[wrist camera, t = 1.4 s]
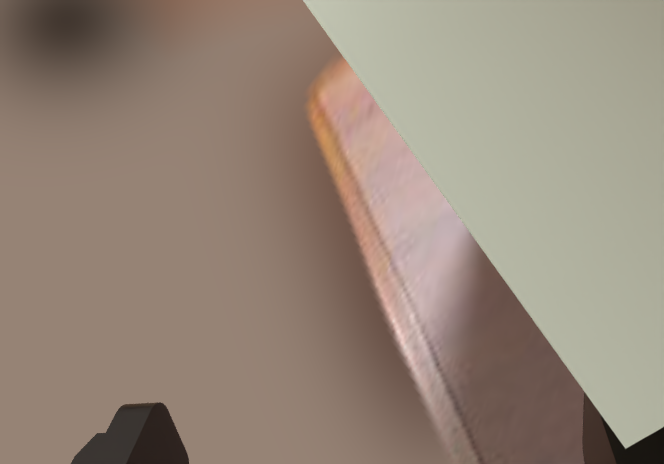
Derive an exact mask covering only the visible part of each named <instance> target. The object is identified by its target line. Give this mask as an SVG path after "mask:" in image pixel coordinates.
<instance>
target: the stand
mask: <svg viewBox="0 0 664 464" xmlns="http://www.w3.org/2000/svg"><path fill="white" fill-rule="evenodd" d="M303 1H304V3H305V4H306V5H307V7H308V8H309V9H310V11H311V12H312V14H313V15H314V16H315V18H316V19H317V21H318V22H319V23H320V25H321V26H322V27H323V29H324V30H325V32H326V33H327V34H328V36H329V37H330V39H331V40H332V41H333V43H334V44H335V46H336V47H337V48H338V50H339V51H340V53H341V54H342V55H343V57H344V58H345V59H346V61H347V62H348V64H349V65H350V66H351V68H352V69H353V71H354V72H355V73H356V75H357V76H358V78H359V79H360V80H361V82H362V83H363V85H364V86H365V87H366V89H367V90H368V91H369V93H370V94H371V96H372V97H373V98H374V100H375V101H376V103H377V104H378V105H379V107H380V108H381V110H382V111H383V112H384V114H385V115H386V116H387V118H388V119H389V121H390V122H391V123H392V125H393V126H394V128H395V129H396V130H397V132H398V133H399V135H400V136H401V137H402V139H403V140H404V142H405V143H406V144H407V146H408V147H409V148H410V150H411V151H412V153H413V154H414V155H415V157H416V158H417V160H418V161H419V162H420V164H421V165H422V167H423V168H424V169H425V171H426V172H427V173H428V175H429V176H430V178H431V179H432V180H433V182H434V183H435V185H436V186H437V187H438V189H439V190H440V192H441V193H442V194H443V196H444V197H445V198H446V200H447V201H448V203H449V204H450V205H451V207H452V208H453V210H454V211H455V212H456V214H457V215H458V217H459V218H460V219H461V221H462V222H463V224H464V225H465V226H466V228H467V229H468V230H469V232H470V233H471V235H472V236H473V237H474V239H475V240H476V242H477V243H478V244H479V246H480V247H481V249H482V250H483V251H484V253H485V254H486V255H487V257H488V258H489V260H490V261H491V262H492V264H493V265H494V267H495V268H496V269H497V271H498V272H499V274H500V275H501V276H502V278H503V279H504V281H505V282H506V283H507V285H508V286H509V287H510V289H511V290H512V292H513V293H514V294H515V296H516V297H517V299H518V300H519V301H520V303H521V304H522V306H523V307H524V308H525V310H526V311H527V312H528V314H529V315H530V317H531V318H532V319H533V321H534V322H535V324H536V325H537V326H538V328H539V329H540V331H541V332H542V333H543V335H544V336H545V337H546V339H547V340H548V342H549V343H550V344H551V346H552V347H553V349H554V350H555V351H556V353H557V354H558V356H559V357H560V358H561V360H562V361H563V363H564V364H565V365H566V367H567V368H568V369H569V371H570V372H571V374H572V375H573V376H574V378H575V379H576V381H577V382H578V383H579V385H580V386H581V388H582V389H583V390H584V392H585V393H586V394H587V396H588V397H589V399H590V400H591V401H592V403H593V404H594V406H595V407H596V408H597V410H598V411H599V413H600V414H601V415H602V417H603V418H604V420H605V421H606V422H607V424H608V425H609V426H610V428H611V429H612V431H613V432H614V433H615V435H616V436H617V438H618V439H619V440H620V442H621V443H622V445H623V446H624V447H625V449H626V448H628V447H629V446H631V445H633V444H635V443H636V442H638V441H640V440H642V439H643V438H645V437H647V436H649V435H651V434H652V433H654V432H656V431H658V430H659V429H661V428H663V427H664V0H303Z"/></svg>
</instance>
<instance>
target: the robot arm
mask: <svg viewBox="0 0 664 464" xmlns="http://www.w3.org/2000/svg"><path fill="white" fill-rule="evenodd" d="M583 454H584V462H585V464H664V427H663V428H661V429H659V430H658V431H656V432H654V433H652V434H651V435H649V436H647V437H645V438H643V439H642V440H640V441H638V442H636V443H635V444H633V445H631V446H629V447H628V448H626V449H625V447H624V446H623V445H622V443H621V442H620V440H619V439H618V438H617V436H616V435H615V433H614V432H613V431H612V429H611V428H610V426H609V425H608V424H607V422H606V421H605V420H604V418H603V417H602V415H601V414H600V413H599V411H598V410H597V408H596V407H595V406H594V404H593V403H592V401H591V400H590V399H589V397H588V396H587V394H586V393H585V392H584V413H583ZM71 464H189V459H188V455H187V452H186V450H185V447H184V445H183V443H182V441H181V438H180V436H179V434H178V432H177V429H176V427H175V425H174V423H173V420H172V418H171V416H170V414H169V411H168V409H167V407H166V406H165V405H164V404H163V403H142V404H125V405H123V406H121V407H120V408H119V409H118V411H117V412H116V414H115V416H114V418H113V420H112V422H111V424H110V426H109V428H108V430H107V432H106V433H97V434H96V435H95V436H94V437H93V438H92V439H91V440H90V441H89V442H88V443H87V444H86V445H85V446H84V447H83V448H82V449H81V451H80V452H79V453H78V454H77V455H76V456H75V457H74V459H73V461H72V463H71Z"/></svg>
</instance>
